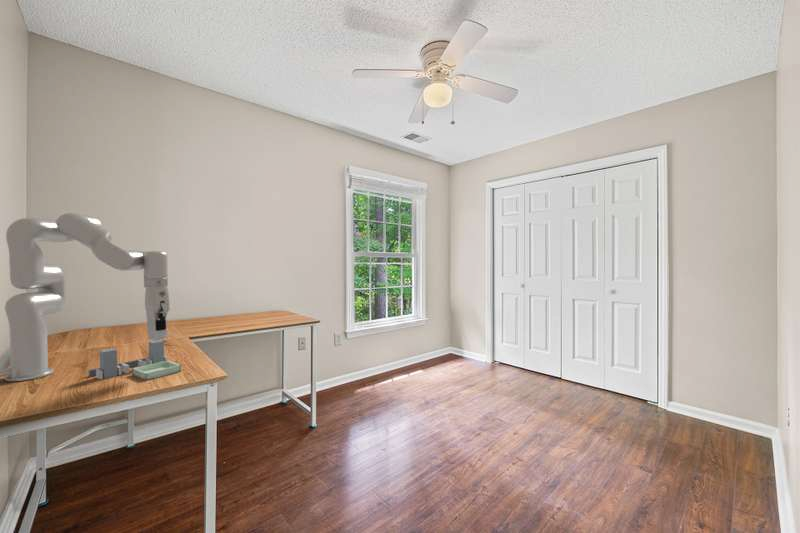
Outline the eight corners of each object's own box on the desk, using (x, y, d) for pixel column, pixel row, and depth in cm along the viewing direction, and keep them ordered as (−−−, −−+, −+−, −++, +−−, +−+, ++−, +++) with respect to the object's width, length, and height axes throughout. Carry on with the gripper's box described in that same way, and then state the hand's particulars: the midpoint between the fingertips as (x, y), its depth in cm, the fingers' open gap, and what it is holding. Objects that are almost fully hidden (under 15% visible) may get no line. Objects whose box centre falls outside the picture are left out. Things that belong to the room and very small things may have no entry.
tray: (145, 380, 125) (145, 373, 125) (132, 374, 131) (132, 368, 131) (180, 371, 135) (180, 365, 135) (167, 366, 141) (167, 360, 141)
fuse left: (104, 378, 127) (103, 352, 126) (100, 376, 129) (99, 350, 128) (117, 375, 130) (117, 349, 130) (113, 373, 132) (112, 348, 132)
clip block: (99, 382, 123) (99, 373, 123) (88, 376, 129) (88, 368, 129) (173, 364, 144) (173, 357, 144) (160, 360, 150) (160, 353, 150)
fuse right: (153, 367, 140) (153, 343, 140) (148, 365, 142) (148, 341, 142) (164, 364, 144) (163, 341, 143) (159, 363, 146) (159, 339, 145)
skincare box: (168, 338, 133) (165, 308, 133) (156, 341, 130) (153, 310, 129) (160, 336, 136) (157, 307, 136) (148, 339, 133) (145, 309, 132)
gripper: (177, 283, 131) (178, 329, 131) (156, 281, 140) (157, 325, 140) (155, 284, 124) (156, 333, 125) (134, 282, 133) (135, 328, 134)
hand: (156, 328), depth 133 cm, fingers closed on skincare box, 6 cm apart
